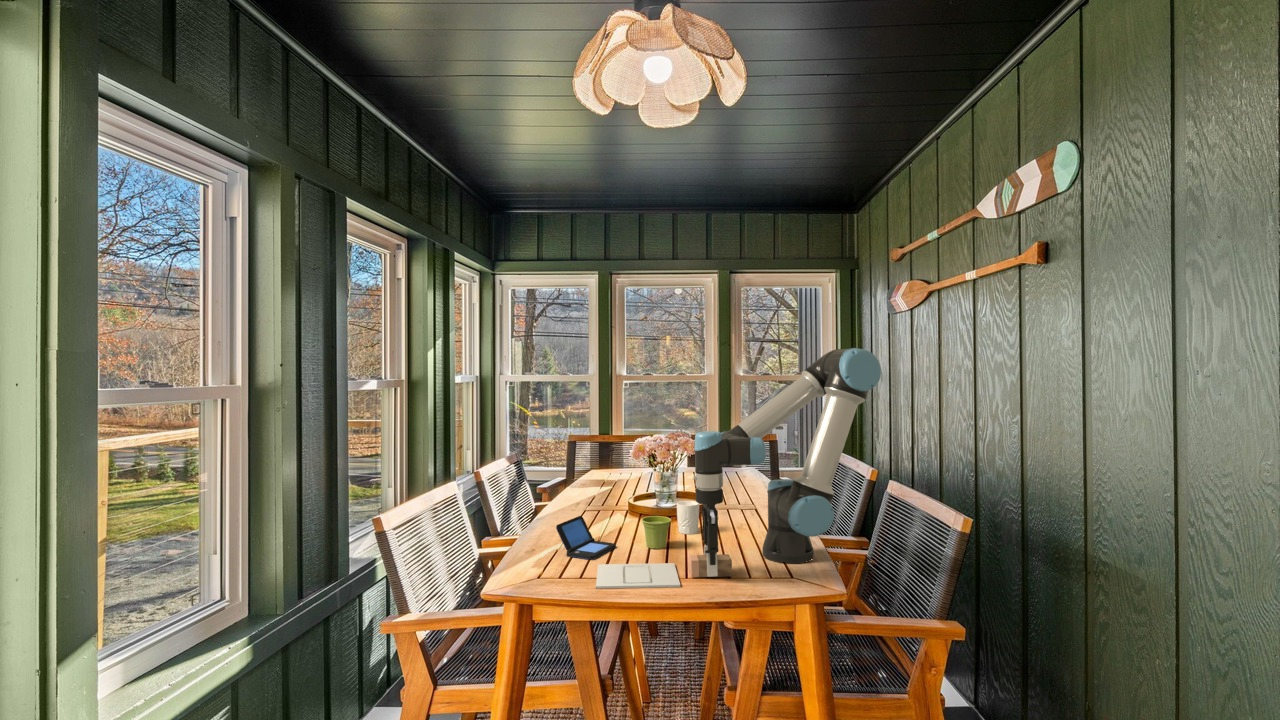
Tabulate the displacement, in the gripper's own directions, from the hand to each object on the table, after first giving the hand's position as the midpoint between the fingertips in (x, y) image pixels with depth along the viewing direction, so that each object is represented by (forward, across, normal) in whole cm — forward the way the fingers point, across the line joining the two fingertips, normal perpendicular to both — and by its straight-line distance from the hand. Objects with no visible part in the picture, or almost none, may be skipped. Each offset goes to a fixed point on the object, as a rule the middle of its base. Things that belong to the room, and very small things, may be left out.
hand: (710, 572), depth 176 cm
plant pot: (+1, -28, -13) cm, 31 cm away
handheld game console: (+1, -25, -35) cm, 43 cm away
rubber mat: (0, 0, -20) cm, 20 cm away
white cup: (+1, -45, -1) cm, 45 cm away
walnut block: (0, 0, 0) cm, 0 cm away
